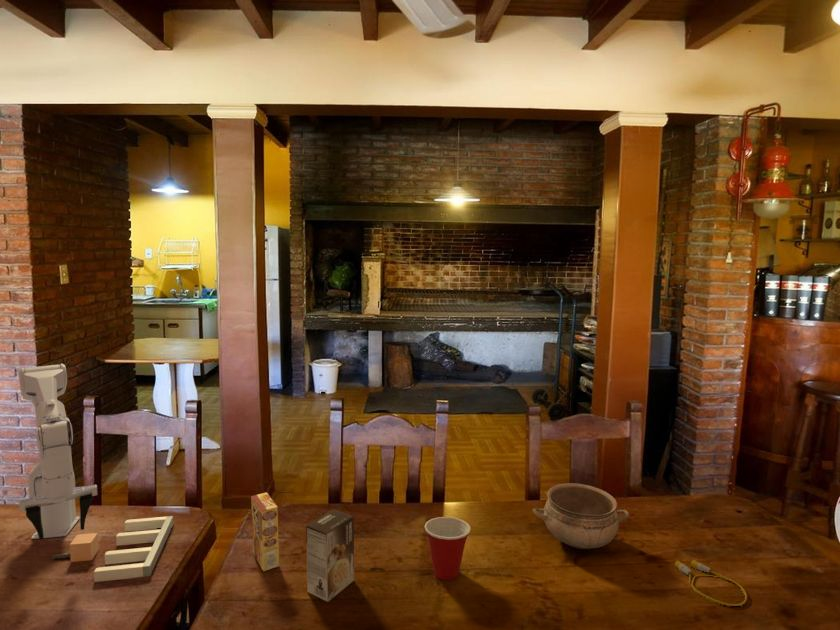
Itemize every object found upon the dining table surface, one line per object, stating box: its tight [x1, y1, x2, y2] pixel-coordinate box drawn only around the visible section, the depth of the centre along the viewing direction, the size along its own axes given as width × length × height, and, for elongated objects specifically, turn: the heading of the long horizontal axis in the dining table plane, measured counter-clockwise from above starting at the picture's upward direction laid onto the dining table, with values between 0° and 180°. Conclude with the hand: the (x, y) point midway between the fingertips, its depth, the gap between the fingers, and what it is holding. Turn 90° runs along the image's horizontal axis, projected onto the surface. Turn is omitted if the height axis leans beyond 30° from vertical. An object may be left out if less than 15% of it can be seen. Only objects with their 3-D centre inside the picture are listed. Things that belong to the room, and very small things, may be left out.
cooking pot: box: [532, 482, 630, 550], centre depth 138 cm, size 25×19×12 cm
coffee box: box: [305, 508, 355, 603], centre depth 118 cm, size 9×6×16 cm
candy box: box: [250, 492, 280, 572], centre depth 127 cm, size 9×4×15 cm, turn 33°
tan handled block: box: [51, 532, 100, 563], centre depth 127 cm, size 4×9×4 cm, turn 103°
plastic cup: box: [423, 516, 471, 581], centre depth 124 cm, size 11×11×12 cm
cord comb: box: [93, 515, 174, 583], centre depth 131 cm, size 23×12×2 cm, turn 13°
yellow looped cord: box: [674, 559, 748, 607], centre depth 122 cm, size 12×16×2 cm
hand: (62, 532), depth 120 cm, fingers open, 7 cm apart
